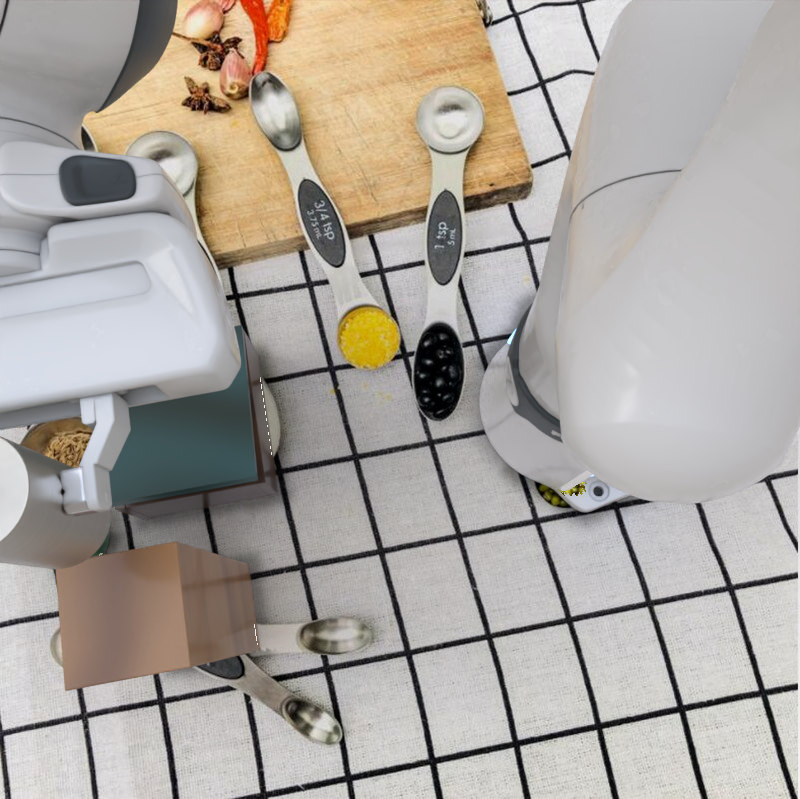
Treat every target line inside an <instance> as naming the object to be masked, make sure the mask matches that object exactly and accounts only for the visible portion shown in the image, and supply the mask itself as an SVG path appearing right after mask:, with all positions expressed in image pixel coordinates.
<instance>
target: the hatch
mask: <svg viewBox="0 0 800 799" xmlns="http://www.w3.org/2000/svg"><path fill="white" fill-rule="evenodd" d="M234 328H235V332H236V336H237V341H238V346H239V350H240V357H241V368H240V370H239V372H238V373H237V375H236V377H235V379H234V380H233V382H232V384H231V385H230V386H229V387H228V388H227V389H225V390H221V391H216V392H210V393H205V394H199V395H194V396H188V397H183V398H177V399H172V400H166V401H161V402H155V403H150V404H144V405H139V406H133V407H128V409H129V418H130V427H131V431H130V433H129V435H128V437H127V439H126V441H125V444H124V446H123V448H122V450H121V452H120V454H119V456H118V458H117V461H116V463H115V465H114V467H113V469H112V471H109V477H110V487H111V498H112V507H111V508H115V507H116V506H121V505H127V504H132V503H138V502H143V501H149V500H154V499H160V498H165V497H170V496H176V495H181V494H187V493H192V492H198V491H203V490H209V489H214V488H220V487H225V486H231V485H236V484H242V483H247V482H253V481H258V475H257V464H256V454H255V443H254V433H253V423H252V412H251V402H250V391H249V381H248V370H247V360H246V349H245V339H244V331H245V330H244V328H243V325H242V324H240V325H234Z"/></svg>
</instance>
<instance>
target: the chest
mask: <svg viewBox="0 0 800 799" xmlns="http://www.w3.org/2000/svg"><path fill="white" fill-rule="evenodd" d="M244 339H245V349H246V360H247V370H248V381H249V391H250V402H251V412H252V423H253V433H254V443H255V454H256V464H257V475H258V481H253V482H247V483H242V484H236V485H231V486H225V487H220V488H214V489H209V490H203V491H198V492H192V493H187V494H181V495H176V496H170V497H165V498H160V499H154V500H149V501H143V502H138V503H132V504H127V505H121V506H116V507H114V510H115V511H118V512H121V513H123V514H126V515H128V516H131V517H134V518H137V519H140V520H149V519H155V518H159V517H164V516H170V515H176V514H181V513H186V512H187V513H188V512H191V511H192V512H193V511H198V510H203V509H209V508H215V507H219V506H225V505H230V504H236V503H242V502H247V501H251V500H257V499H263V498H270V497H275V496H279V495H280V491H279V483H278V477H277V470H276V464H275V457H274V451H273V444H272V443H273V442H272V436H271V431H270V423H269V415H268V410H267V403H266V395H265V390H264V383H263V376H262V368H261V363H260V362H261V361H260V355H259V353H258V352H257V350H256V348H255V346H254V344H253V343H252V341H251V340H250V337H249V336H248V335H247V333H246V331H245V330H244ZM260 377H261V382H260ZM261 384H262V389H261ZM262 391H263V395H262ZM263 398H264V402H263ZM264 405H265V408H264ZM265 411H266V415H265ZM266 418H267V421H266ZM267 425H268V427H267ZM268 432H269V435H268ZM269 439H270V441H269ZM270 446H271V449H270ZM271 452H272V455H271Z"/></svg>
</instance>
